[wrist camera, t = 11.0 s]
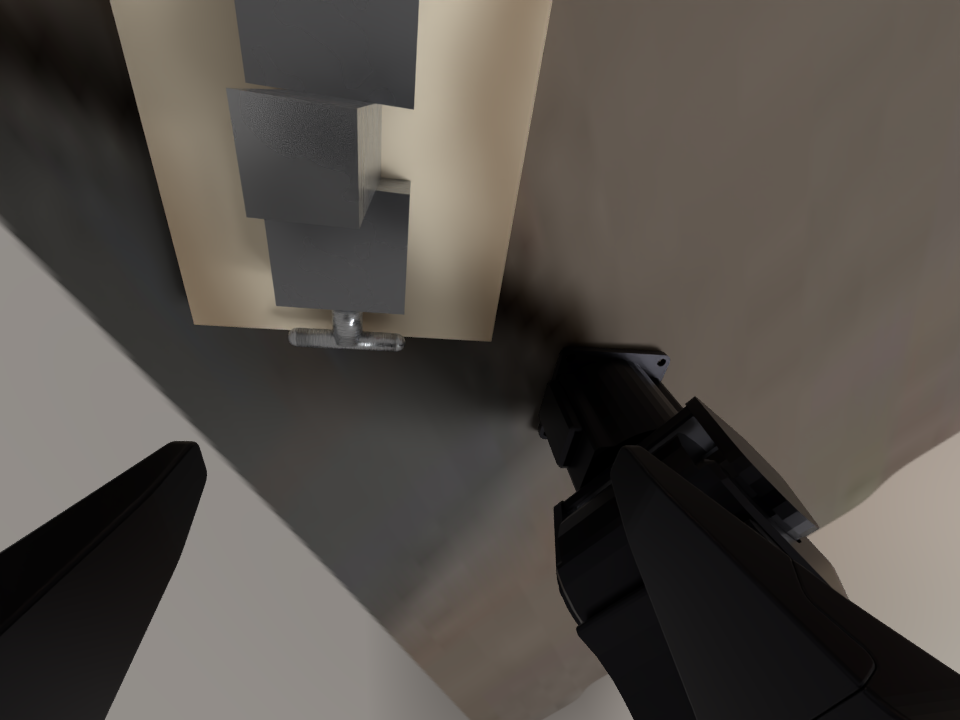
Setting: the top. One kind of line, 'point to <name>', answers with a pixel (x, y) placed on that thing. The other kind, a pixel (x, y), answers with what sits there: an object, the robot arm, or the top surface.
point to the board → (404, 155)
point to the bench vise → (327, 156)
